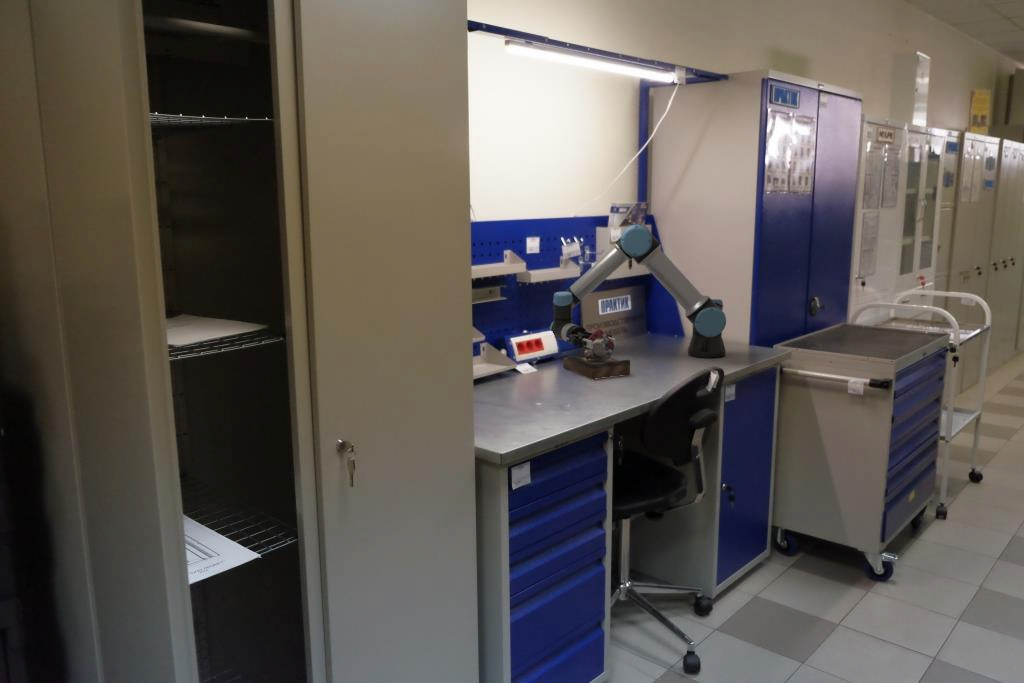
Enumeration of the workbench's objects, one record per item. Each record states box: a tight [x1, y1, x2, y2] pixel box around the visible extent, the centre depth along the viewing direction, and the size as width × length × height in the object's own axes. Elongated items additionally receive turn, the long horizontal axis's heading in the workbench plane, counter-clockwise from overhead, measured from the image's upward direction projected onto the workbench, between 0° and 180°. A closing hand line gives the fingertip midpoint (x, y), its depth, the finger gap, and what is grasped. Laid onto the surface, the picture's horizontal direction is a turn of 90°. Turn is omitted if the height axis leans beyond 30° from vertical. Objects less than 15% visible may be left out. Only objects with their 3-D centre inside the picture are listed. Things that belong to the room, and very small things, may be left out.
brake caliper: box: [583, 328, 615, 361], centre depth 276 cm, size 11×11×12 cm
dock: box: [563, 354, 631, 380], centre depth 281 cm, size 16×22×6 cm
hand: (603, 343), depth 274 cm, fingers closed on brake caliper, 9 cm apart
